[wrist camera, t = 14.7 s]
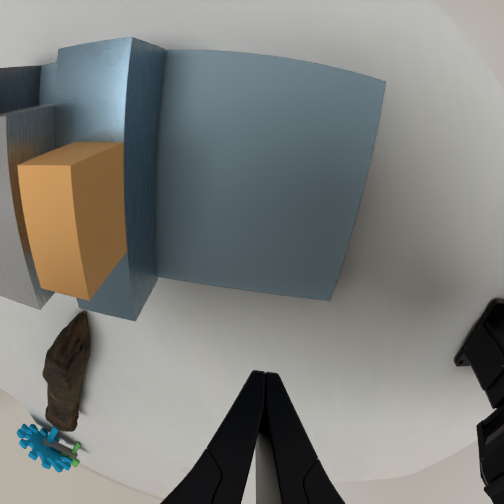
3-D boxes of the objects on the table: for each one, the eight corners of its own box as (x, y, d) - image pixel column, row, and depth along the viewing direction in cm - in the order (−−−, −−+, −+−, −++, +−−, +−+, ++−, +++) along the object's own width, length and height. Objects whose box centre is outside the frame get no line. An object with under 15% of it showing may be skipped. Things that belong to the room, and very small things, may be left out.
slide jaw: (165, 49, 10) (78, 21, 4) (157, 280, 15) (110, 373, 10) (102, 53, 10) (-2, 47, 4) (106, 270, 15) (48, 352, 10)
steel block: (101, 98, 11) (5, 115, 6) (105, 237, 14) (40, 309, 9) (39, 104, 11) (-52, 129, 6) (48, 228, 14) (-19, 288, 9)
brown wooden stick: (82, 412, 28) (69, 442, 23) (53, 394, 27) (39, 424, 23) (119, 327, 19) (94, 376, 15) (72, 297, 18) (40, 342, 14)
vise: (378, 82, 11) (424, 79, 7) (327, 289, 16) (340, 349, 12) (17, 74, 11) (-39, 82, 7) (30, 242, 16) (-11, 279, 12)
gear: (17, 419, 31) (14, 455, 23) (29, 396, 33) (27, 430, 25) (71, 449, 37) (79, 485, 28) (84, 428, 39) (95, 463, 30)
